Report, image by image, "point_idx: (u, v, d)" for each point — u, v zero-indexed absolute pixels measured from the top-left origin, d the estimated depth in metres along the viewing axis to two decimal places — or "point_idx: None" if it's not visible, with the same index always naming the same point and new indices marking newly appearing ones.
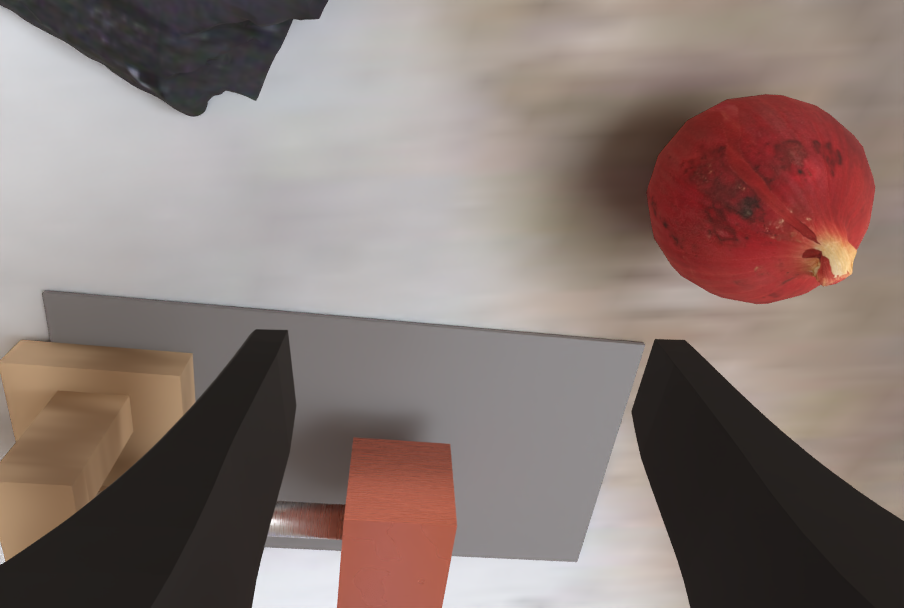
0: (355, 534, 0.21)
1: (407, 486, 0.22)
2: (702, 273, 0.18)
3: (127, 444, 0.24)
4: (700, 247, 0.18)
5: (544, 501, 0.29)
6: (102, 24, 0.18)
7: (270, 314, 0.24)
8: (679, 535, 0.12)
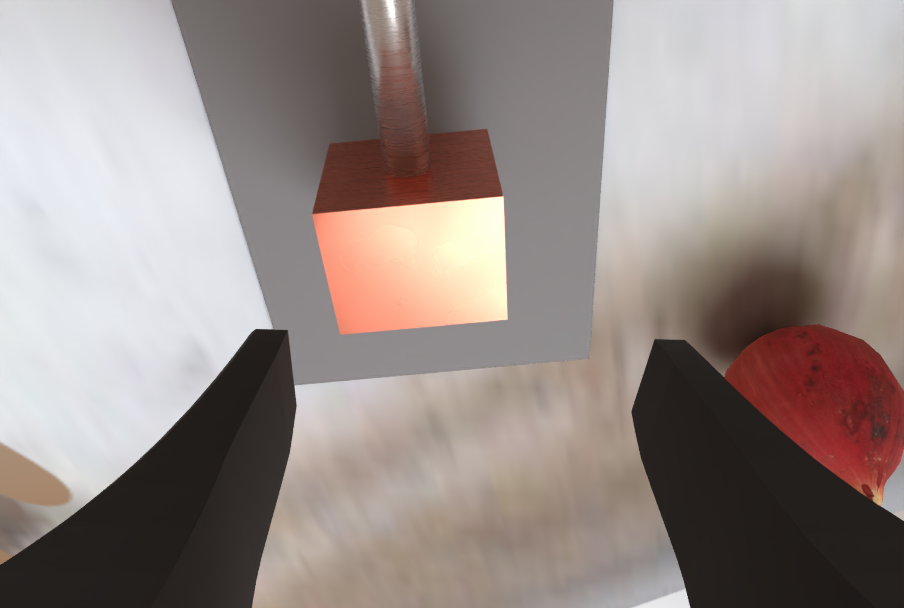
0: (479, 213, 0.15)
1: None
2: (792, 415, 0.21)
3: None
4: (822, 407, 0.21)
5: (373, 332, 0.25)
6: None
7: None
8: (679, 535, 0.12)
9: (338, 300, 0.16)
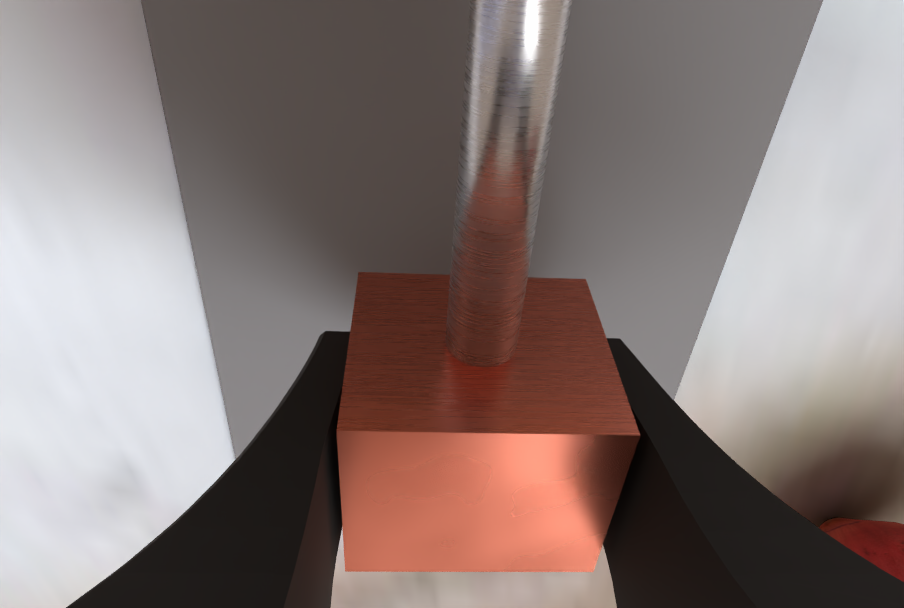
0: (596, 452, 0.10)
1: None
2: None
3: None
4: None
5: None
6: None
7: (788, 80, 0.13)
8: (608, 535, 0.12)
9: (352, 533, 0.11)
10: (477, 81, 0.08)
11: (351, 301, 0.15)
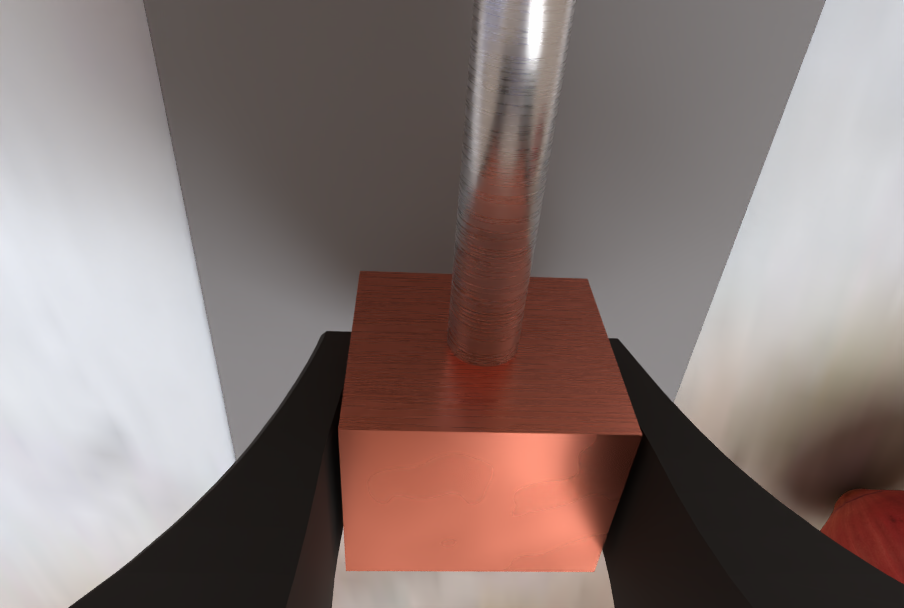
0: (597, 452, 0.10)
1: None
2: None
3: None
4: None
5: None
6: None
7: None
8: None
9: (353, 532, 0.11)
10: (480, 79, 0.08)
11: (350, 244, 0.14)
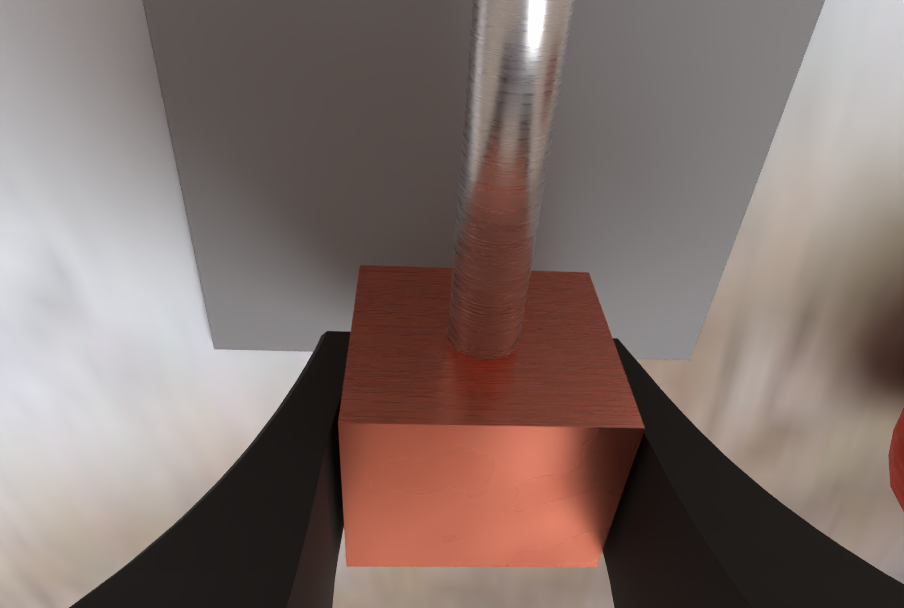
0: (600, 446, 0.10)
1: None
2: None
3: None
4: None
5: None
6: None
7: None
8: None
9: (354, 528, 0.11)
10: (480, 67, 0.08)
11: None
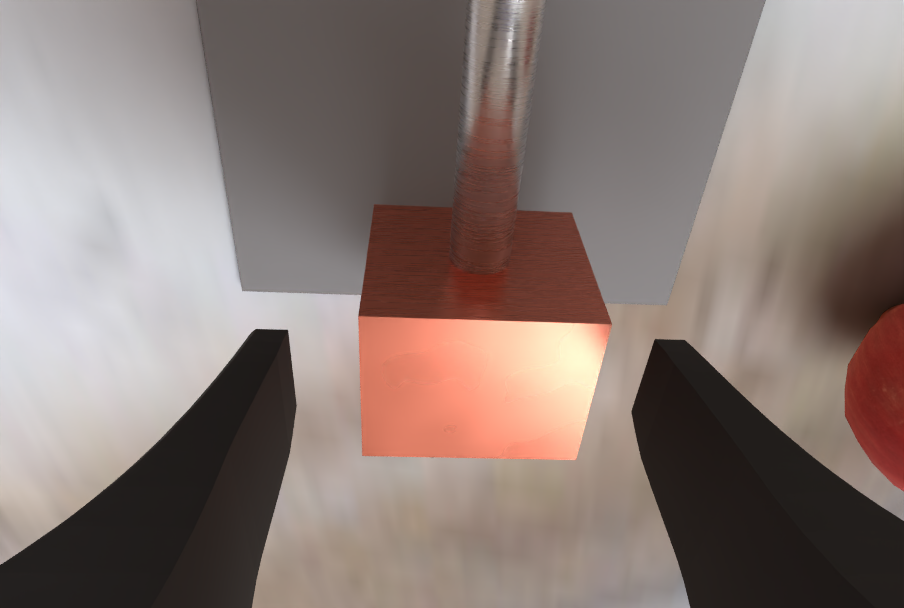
0: (575, 341, 0.12)
1: None
2: None
3: None
4: None
5: None
6: None
7: None
8: (679, 535, 0.12)
9: (369, 417, 0.13)
10: (475, 19, 0.10)
11: None
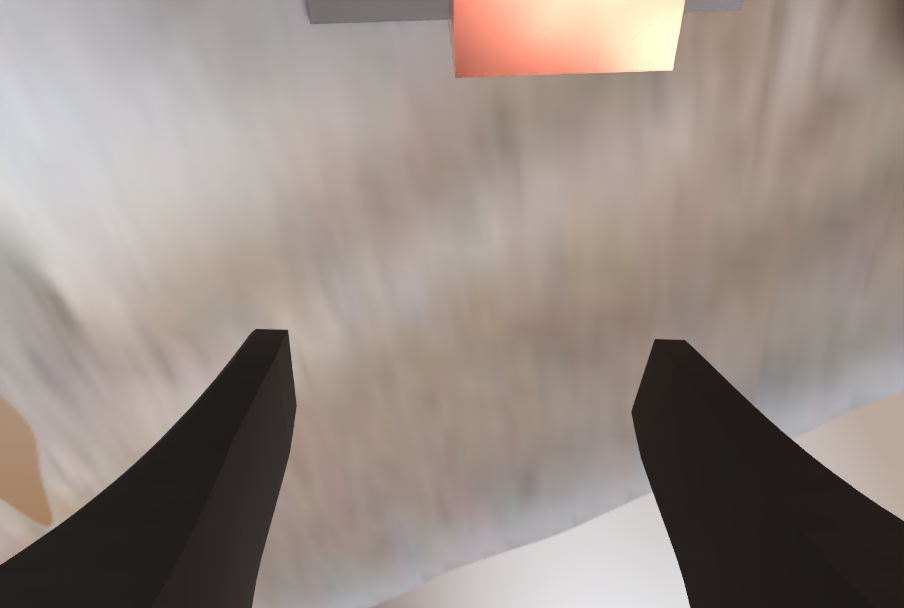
0: None
1: None
2: None
3: None
4: None
5: None
6: None
7: None
8: (679, 535, 0.12)
9: (462, 18, 0.13)
10: None
11: None
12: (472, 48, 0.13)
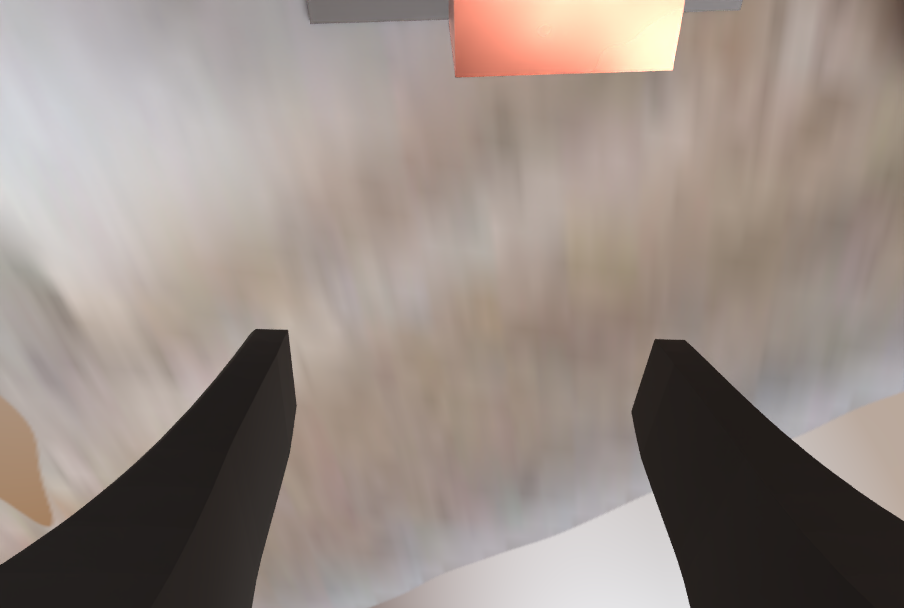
0: None
1: None
2: None
3: None
4: None
5: None
6: None
7: None
8: (679, 535, 0.12)
9: (462, 18, 0.13)
10: None
11: None
12: (472, 48, 0.13)
